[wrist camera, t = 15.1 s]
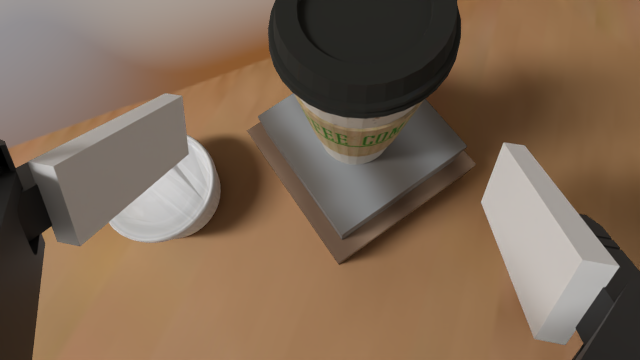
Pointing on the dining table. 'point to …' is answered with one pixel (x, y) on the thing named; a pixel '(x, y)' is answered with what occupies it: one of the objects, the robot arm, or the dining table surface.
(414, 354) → the dining table surface
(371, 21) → the coffee cup
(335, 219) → the grey stacked platform
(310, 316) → the dining table surface
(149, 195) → the ramekin
